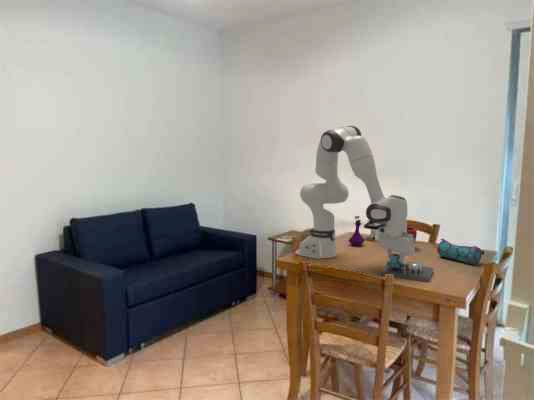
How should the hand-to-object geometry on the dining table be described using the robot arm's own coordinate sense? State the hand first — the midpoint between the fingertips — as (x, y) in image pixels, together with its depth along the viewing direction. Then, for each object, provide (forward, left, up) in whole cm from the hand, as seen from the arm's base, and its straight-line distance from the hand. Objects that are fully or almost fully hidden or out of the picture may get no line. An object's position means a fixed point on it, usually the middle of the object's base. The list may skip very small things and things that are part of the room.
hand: (395, 260), depth 183 cm
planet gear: (0, 0, -3) cm, 3 cm away
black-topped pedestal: (-27, +63, -6) cm, 69 cm away
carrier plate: (+6, 0, -6) cm, 8 cm away
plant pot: (-5, +48, -6) cm, 49 cm away
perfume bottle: (-31, +42, -6) cm, 53 cm away
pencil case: (+24, +35, -6) cm, 43 cm away
